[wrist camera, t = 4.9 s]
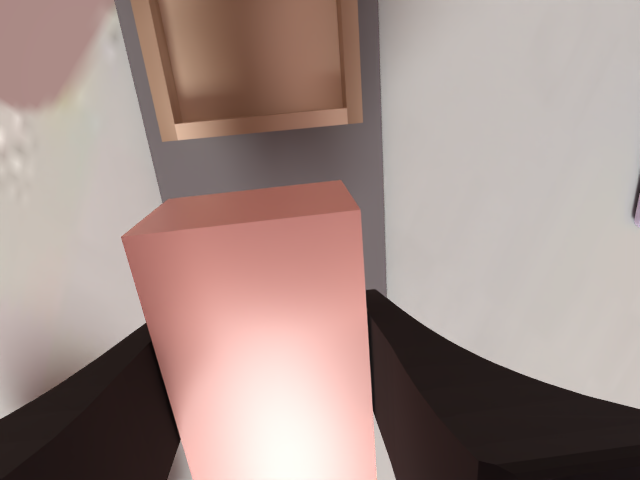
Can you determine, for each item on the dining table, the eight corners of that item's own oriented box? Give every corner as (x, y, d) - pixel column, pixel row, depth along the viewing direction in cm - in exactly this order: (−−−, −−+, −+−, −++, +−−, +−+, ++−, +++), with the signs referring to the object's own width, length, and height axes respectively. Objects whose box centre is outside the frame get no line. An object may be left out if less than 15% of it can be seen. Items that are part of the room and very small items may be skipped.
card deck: (358, 402, 13) (377, 486, 10) (221, 420, 13) (202, 511, 10) (340, 179, 10) (360, 209, 7) (168, 198, 10) (120, 236, 7)
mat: (367, -229, 13) (371, -244, 13) (384, 321, 21) (387, 327, 20) (70, -212, 13) (60, -227, 12) (200, 343, 20) (197, 349, 20)
